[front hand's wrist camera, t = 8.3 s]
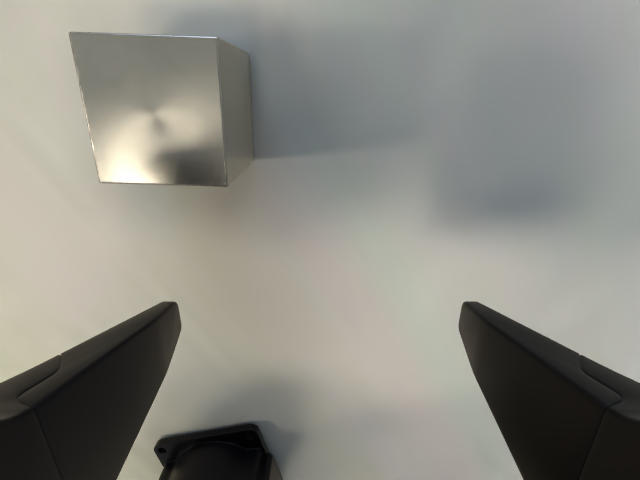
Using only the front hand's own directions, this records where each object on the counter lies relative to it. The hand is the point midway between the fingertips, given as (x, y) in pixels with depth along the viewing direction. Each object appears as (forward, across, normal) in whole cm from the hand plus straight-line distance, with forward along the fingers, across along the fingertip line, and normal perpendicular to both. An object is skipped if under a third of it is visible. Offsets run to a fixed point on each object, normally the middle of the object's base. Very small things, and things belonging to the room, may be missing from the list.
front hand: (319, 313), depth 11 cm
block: (+6, +5, -6) cm, 10 cm away
